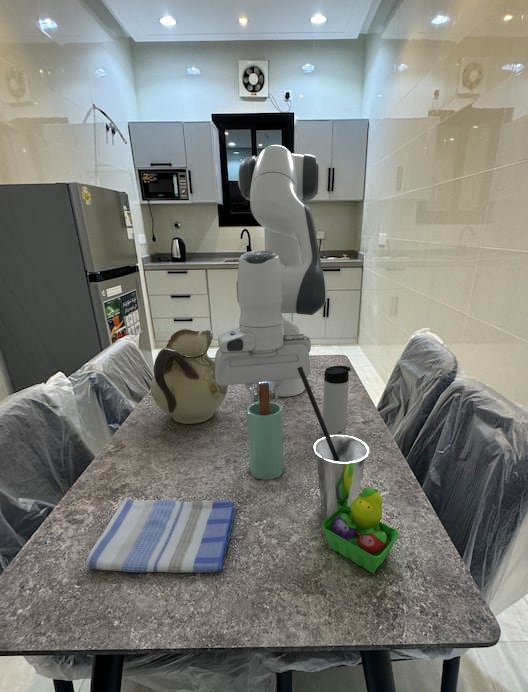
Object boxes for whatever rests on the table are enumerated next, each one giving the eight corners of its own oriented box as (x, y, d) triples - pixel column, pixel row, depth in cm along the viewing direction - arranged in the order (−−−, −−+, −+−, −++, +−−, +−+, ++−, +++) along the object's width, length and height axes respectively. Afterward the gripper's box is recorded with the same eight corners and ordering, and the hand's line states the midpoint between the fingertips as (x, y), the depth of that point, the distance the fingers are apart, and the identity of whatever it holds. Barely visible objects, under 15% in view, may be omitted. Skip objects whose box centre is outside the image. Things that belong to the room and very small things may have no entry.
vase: (247, 463, 93) (244, 403, 87) (279, 459, 95) (277, 399, 88) (253, 481, 86) (249, 418, 80) (286, 476, 88) (286, 414, 81)
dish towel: (125, 505, 80) (123, 494, 78) (238, 507, 78) (237, 496, 77) (82, 573, 64) (78, 560, 63) (222, 578, 62) (220, 565, 61)
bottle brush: (256, 463, 92) (253, 381, 83) (273, 461, 92) (271, 380, 84) (260, 473, 88) (256, 388, 79) (276, 470, 89) (274, 386, 80)
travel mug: (345, 443, 101) (350, 372, 93) (321, 441, 102) (323, 370, 94) (347, 432, 107) (351, 364, 99) (323, 430, 108) (325, 362, 100)
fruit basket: (318, 547, 68) (319, 495, 63) (345, 521, 74) (349, 472, 69) (375, 583, 61) (381, 527, 56) (401, 551, 67) (408, 498, 62)
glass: (296, 505, 79) (296, 366, 67) (344, 492, 82) (352, 358, 70) (321, 541, 69) (325, 387, 57) (373, 524, 73) (388, 376, 61)
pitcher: (217, 396, 132) (211, 324, 122) (241, 424, 112) (236, 341, 102) (150, 409, 123) (137, 332, 113) (163, 441, 104) (149, 352, 94)
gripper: (306, 330, 83) (305, 389, 88) (210, 336, 78) (216, 398, 84) (315, 337, 77) (314, 400, 82) (212, 344, 73) (218, 410, 78)
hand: (264, 399), depth 83 cm, fingers open, 3 cm apart
